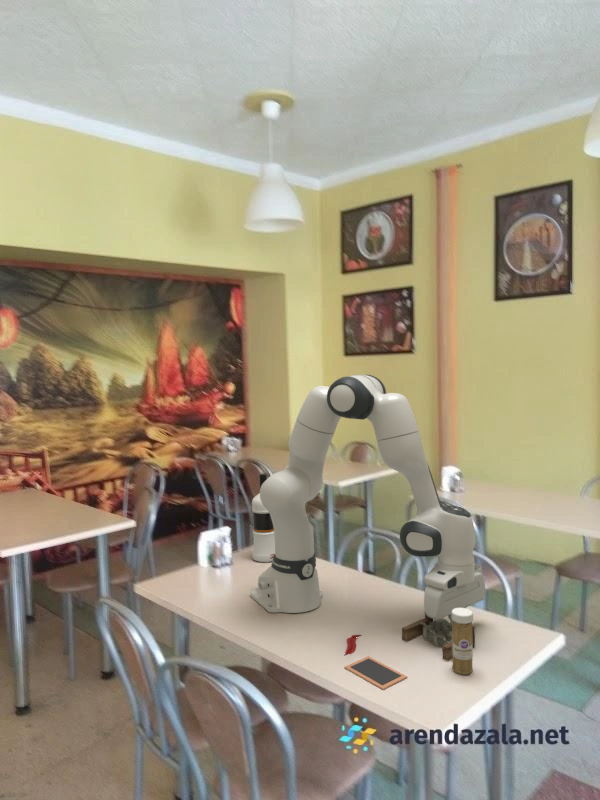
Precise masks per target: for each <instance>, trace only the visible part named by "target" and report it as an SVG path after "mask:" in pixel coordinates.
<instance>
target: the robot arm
mask: <svg viewBox="0 0 600 800" xmlns="http://www.w3.org/2000/svg"><path fill="white" fill-rule="evenodd" d="M341 418H344V419H350V420H351V419H352V420H355V419H356V420H365V419H367V420H368V421H369V422H370V424H371V425H372V427H373V431H374V435H375V439H376V443H377V449H378V451H379V454H380V456H381V458H382V461H383V462H384V464H385V465H386V466H387V467H388V468H390V469H391V470H394V471H396V472H399V473H401V475H403V477H405V478H406V480H407V481H408V484H409V487H410V490H411V492H412V496H413V499H414V503H415V506H416V514H415V516H413V517H412V518H410V519H409V520H408V521H406V522H405V523H404V524H403V525H402V527H400V531H399V541H400V544H401V546H402V548H403V550H405V551H406V552H407V553H408V554H409V555H411V556H414V557H422V558H423V557H437V563H436V564H435V565H434V566H433V567H432V569H431V570H430V571H428V572H427V573H426V574H425V575H424V581H423V582H424V584H426V586H425V588H424V594H423V596H424V597H423V598H424V599H423V601H424V602H423V603H424V604H423V606H424V614H425V613H426V615H427V616H428V617H430V618H432V619H433V620H435V621H436V620H439V619H445V618H446V617H448V619H449V623H450V624H452V618H451V615H452V610H453V609H455V608H466V609H467V608H468V607H470V606H473V605H475V604H478V603H479V602H482V601H483V600H485V597H486V593H487V592H486V582H485V577H484V574H483V568H482V567H481V565H479V564H477V563H476V562H475V557H474V553H473V551H474V549H475V548H474V547H475V526H474V520H473V516H472V515H471V513H470V512H469V511H468V510H467V509H466V508H464V507H461V506H457V505H453V504H452V505H451V504H450V505H449V504H448V505H446V504H445V505H442V504H443V503H442V502H441V500H440V496H439V493H438V491H437V488H436V485H435V482H434V478H433V474H432V473H431V469H430V466H429V462H428V460H427V458H426V455H425V451H424V447H423V443H422V438H421V434H420V431H419V430H420V429H419V426H418V422H417V420H416V417H415V414H414V411H413V410H412V406H411V404H410V402H409V400H408V398H407V397H406V396H405V395H403V394H402V393H397V392H388V393H387V390H386V386H385V384H384V383H383V381H382V380H381V379H380V378H378V377H376V376H374V375H371V374H361V373H360V374H352V375H348V376H343V377H340V378H338V379H336V380H335V381H334V382H332V384H331V385H330V386H327V385H318V386H317V385H316V386H315V387H313V388H312V389H310V390H309V392H308V395H306V398H305V399H304V401H303V403H302V405H301V407H300V410H299V412H298V414H297V417H296V420H295V422H294V425H293V429H292V430H291V434H290V437H289V439H288V443H287V447H288V449H289V456H288V462H287V464H286V466H285V468H284V469H283V470H280V471H276V472H274V473H272V474H271V475H270V476H268V477H267V480H266V481H265V482H264V483H263V484H262V486H261V488H260V487H259V493H260V499H261V502H262V504H263V505H264V507H265V508H266V509H267V510H268V511H269V513H270V516H271V519H272V522H273V527H274V538H275V554H272V555H274V556H272V555H270V556H272V557H270V559H271V558H273V561H272V562H271V565H270V566H269V567H268V568H267V569H266V570H264V571H263V572H262V573H260V575H259V576H258V579H257V587H256V588H253V589H252V590H251V591H250V593H249V596H250V597H251V598H252V599H253V600H254V601H256V602H257V603H258V604H259V605H260V606H261V607H262V608H264V609H265V611H267V612H268V613H286V614H287V613H288V614H297V613H299V614H300V613H305V612H310V611H313V610H315V609H317V608H319V607H320V606H321V604H322V600H321V599H322V597H323V593H322V591H321V589H320V583H319V575H318V574H319V573H318V569H317V568H316V567H317V558H316V553H315V549H314V548H315V547H314V546H315V544H314V543H315V540H314V538H315V537H314V526H313V524H312V523H310V521H309V519H308V515H307V512H306V503H307V502H310V501H311V500H313V499H314V498H316V497H317V495H318V494H319V493H320V491H321V490H322V488H323V485H324V477H323V473H324V466H325V460H326V457H327V453H328V451H329V448H330V446H331V443H332V440H333V437H334V434H335V432H336V430H337V427H338V424H339V422H340V419H341ZM475 563H476V564H475Z"/></svg>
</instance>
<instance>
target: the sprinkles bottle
mask: <svg viewBox="0 0 600 800" xmlns="http://www.w3.org/2000/svg"><path fill="white" fill-rule="evenodd" d="M451 618H452V655H453V659H452V665H451V670H452V671H453V672H454V673H456V674H459V675H462V676H463V675H465V676H466V675H470V674H472V672H473V671H474V669H473V656H474V655H473V654H474V653H473V652H474V651H473V649H474V648H473V634H472V626H473V621H474V613H473V611H472V610H470V608H467V607H466V608H455V609H453V610H452V615H451Z"/></svg>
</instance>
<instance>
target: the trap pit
mask: <svg viewBox="0 0 600 800" xmlns="http://www.w3.org/2000/svg"><path fill="white" fill-rule="evenodd" d="M344 669H345V670H347V671H349V672H350V673H352V674H354V675H356V676H358V677H359V678H361V679H363V680H365V681H366V682H367V683H370V684H372V685H373V686H375V687H377V688H379V689H380V690H382V691H384V690H386V689H388V688H390V687H392V686H394V685H396V684H399V683H400V682H402V681H405V680H406V679H407V678H408V675H405V674H403V673H401V672H400V671H398V670H396V669H394V668H392V667H390V666H388V665H387V664H385V663H382V662H381V661H378V660H377V659H376V658H373V657H372V656H369V655H368V656H366V657H364V658H361V659H358V660H357V661H354V662H352V663H349V664H347V665H346V666H344Z"/></svg>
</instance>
